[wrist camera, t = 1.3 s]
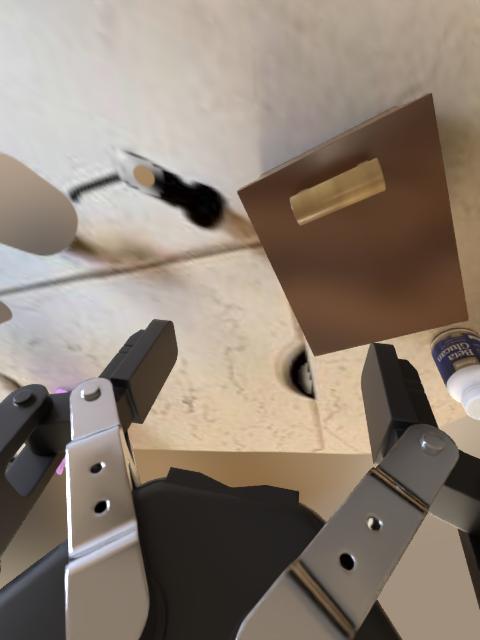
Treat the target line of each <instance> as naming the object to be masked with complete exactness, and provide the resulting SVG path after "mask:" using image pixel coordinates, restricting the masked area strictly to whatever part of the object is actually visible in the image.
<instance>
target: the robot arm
mask: <svg viewBox="0 0 480 640" xmlns="http://www.w3.org/2000/svg"><path fill="white" fill-rule="evenodd" d="M177 355H178V348H177V342H176V336H175V330H174V325H173V322H172V321H167V320H157V319H154V320H152V322H151V323H150V324H149V326H148V327H147V328H146V330H140V331H138V332H136V333H135V334H133V335H132V336H131V337H130V338H129V339H128V340H127V342H126V343H125V344H124V346H123V347H122V348H121V349H120V351H119V353H117V354H116V356H115V357H114V358H113V359H112V361H111V362H110V363H109V364H108V366H107V367H106V368H105V370H104V371H103V372H102V373H101V375H100V376H99V377H98V378H92V379H88V380H86V381H84V382H82V383H80V384H79V385H78V386H76V387H75V388H74V389H73V391H72V392H66V393H57V394H49V393H48V391H47V389H46V387H44V386H43V385H39V384H32V385H27V386H24V387H21V388H19V389H17V390H15V391H14V392H12V393H11V394H9V395H8V396H7V397H6V398H5V399H4V400H3V401H2V402H1V403H0V558H1V556H2V554H3V553H4V551H5V550H6V548H7V547H8V545H9V543H10V542H11V540H12V539H13V537H14V535H15V534H16V532H17V531H18V529H19V528H20V526H21V525H22V523H23V521H24V520H25V518H26V517H27V515H28V514H29V512H30V511H31V509H32V507H33V506H34V504H35V503H36V501H37V500H38V498H39V497H40V495H41V493H42V492H43V490H44V489H45V487H46V486H47V484H48V482H49V481H50V479H51V478H52V476H53V475H54V473H55V472H56V470H57V469H58V467H59V465H60V464H61V462H62V461H63V459H64V458H65V456H66V476H67V510H68V539H66V540H65V541H64V542H62V543H61V544H60V545H58V546H57V547H56V548H54V549H53V550H52V551H50V552H49V553H48V554H46V555H45V556H44V557H42V558H41V559H40V560H38V561H37V562H36V563H34V564H33V565H32V566H30V567H29V568H28V569H26V570H25V571H24V572H22V573H21V574H20V575H18V576H17V577H16V578H14V579H13V580H12V581H11V582H9V583H8V584H6V585H5V586H4V587H3V588H1V589H0V640H402V639H401V637H400V635H399V634H398V632H397V630H396V629H395V627H394V626H393V624H392V622H391V621H390V619H389V618H388V616H387V615H386V613H385V611H384V610H383V608H382V607H381V605H380V603H379V602H378V600H377V598H378V596H379V594H380V593H381V591H382V589H383V588H384V586H385V584H386V582H387V581H388V579H389V577H390V576H391V574H392V572H393V571H394V569H395V567H396V565H397V564H398V562H399V561H400V559H401V557H402V555H403V554H404V552H405V550H406V549H407V547H408V545H409V544H410V542H411V540H412V539H413V536H414V535H415V533H416V532H417V530H418V528H419V527H420V525H421V523H422V522H423V520H424V518H425V517H426V515H427V513H428V514H430V515H432V516H434V517H436V518H439V519H440V520H442V521H444V522H446V523H448V524H450V525H452V526H454V527H456V528H458V532H459V536H460V539H461V543H462V547H463V550H464V554H465V558H466V561H467V565H468V568H469V572H470V575H471V579H472V583H473V587H474V590H475V594H476V598H477V601H478V605H479V608H480V459H479V458H476V457H474V456H471V455H469V454H467V453H464V452H463V451H461V450H459V449H458V448H457V446H456V444H455V442H454V441H453V440H452V439H451V438H450V437H449V436H448V435H447V434H446V433H445V432H443V431H442V430H440V429H439V428H438V425H437V423H436V420H435V417H434V415H433V412H432V409H431V407H430V404H429V401H428V399H427V396H426V394H425V393H424V388H423V386H422V384H421V380H420V378H419V375H418V372H417V370H416V369H415V368H414V367H413V366H412V365H411V364H410V363H409V361H408V360H404V359H398V357H397V354H396V351H395V348H394V346H393V345H390V344H380V343H371V344H370V347H369V350H368V354H367V357H366V361H365V364H364V368H363V371H362V377H361V388H362V395H363V401H364V407H365V414H366V420H367V426H368V432H369V439H370V445H371V451H372V457H373V463H374V464H378V466H377V467H376V468H374V467H373V468H372V469H370V470H369V471H368V473H367V474H366V475H365V476H364V477H363V479H362V480H361V481H360V482H359V484H358V485H357V486H356V487H355V488H354V490H353V491H352V492H351V493H350V495H349V496H348V497H347V498H346V500H345V501H344V502H343V503H342V504H341V506H340V507H339V508H338V509H337V511H336V512H335V513H334V514H333V516H332V517H331V518H330V519H329V520H328V522H325V520H324V519H323V518H322V517H321V516H319V515H318V514H317V513H316V512H315V511H314V510H312V509H311V508H309V507H307V506H306V505H304V504H302V503H300V502H299V491H294V490H288V489H284V488H278V487H273V486H268V485H262V486H247V487H236V488H235V487H233V488H232V487H228V486H226V485H224V484H222V483H220V482H218V481H216V480H214V479H212V478H210V477H208V476H206V475H204V474H202V473H199V472H194V471H189V470H183V469H178V468H173V467H171V468H170V470H169V473H168V476H167V477H163V478H158V479H154V480H151V481H148V482H146V483H144V484H141V482H140V478H139V475H138V471H137V466H136V462H135V457H134V453H133V448H132V444H131V440H130V435H129V432H128V428H129V427H130V425H131V423H132V422H133V423H139V424H143V422H144V420H145V418H146V417H147V415H148V413H149V411H150V409H151V407H152V405H153V404H154V402H155V400H156V398H157V396H158V394H159V392H160V391H161V389H162V387H163V385H164V383H165V381H166V379H167V378H168V376H169V374H170V372H171V370H172V368H173V366H174V365H175V363H176V360H177ZM23 443H25V444H26V446H25V447H24V448H23V450H22V451H21V452H20V453H19V455H18V456H17V457H16V459H15V460H14V461H13V463H12V464H11V465H10V466H9V468H8V469H7V470H6V467H7V465H8V463H9V461H10V460H11V459H12V457H13V456H14V455H15V454H16V452H17V451H18V450H19V448H20V447H21V446H22V445H23ZM5 470H6V472H5ZM0 570H1V561H0Z"/></svg>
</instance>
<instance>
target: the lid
mask: <svg viewBox="0 0 480 640" xmlns="http://www.w3.org/2000/svg"><path fill="white" fill-rule="evenodd" d="M237 193H238V195H239V197H240V199H241V201H242V204H243V206H244V208H245V210H246V212H247V214H248V216H249V218H250V221H251V223H252V225H253V227H254V229H255V231H256V233H257V235H258V238H259V240H260V242H261V244H262V246H263V248H264V250H265V252H266V255H267V257H268V259H269V261H270V263H271V265H272V267H273V269H274V272H275V274H276V276H277V278H278V280H279V282H280V284H281V286H282V289H283V291H284V293H285V295H286V297H287V299H288V301H289V303H290V306H291V308H292V310H293V312H294V314H295V316H296V318H297V320H298V323H299V325H300V327H301V329H302V331H303V333H304V335H305V337H306V340H307V342H308V344H309V346H310V348H311V350H312V352H313V354H314V356H319V355H324V354H328V353H332V352H336V351H340V350H345V349H349V348H353V347H357V346H362V345H366V344H370V343H374V342H378V341H383V340H387V339H391V338H395V337H400V336H404V335H408V334H412V333H416V332H421V331H425V330H429V329H433V328H437V327H442V326H446V325H450V324H454V323H459V322H463V321H467V320H468V313H467V307H466V301H465V295H464V289H463V282H462V276H461V270H460V264H459V258H458V252H457V245H456V239H455V233H454V227H453V221H452V215H451V209H450V202H449V196H448V190H447V184H446V178H445V172H444V166H443V159H442V153H441V147H440V141H439V135H438V129H437V122H436V116H435V110H434V104H433V98H432V93H427V94H425V95H423V96H421V97H419V98H417V99H415V100H413V101H411V102H409V103H407V104H405V105H403V106H401V107H399V108H397V109H395V110H393V111H391V112H389V113H387V114H385V115H384V116H382V117H380V118H378V119H376V120H374V121H372V122H370V123H368V124H366V125H364V126H362V127H360V128H358V129H356V130H354V131H352V132H350V133H348V134H346V135H344V136H342V137H340V138H338V139H336V140H334V141H332V142H330V143H329V144H327V145H325V146H323V147H321V148H319V149H317V150H315V151H313V152H311V153H309V154H307V155H305V156H303V157H301V158H299V159H297V160H295V161H293V162H291V163H289V164H287V165H285V166H283V167H281V168H279V169H277V170H275V171H274V172H272V173H270V174H268V175H266V176H264V177H262V178H260V179H258V180H256V181H254V182H252V183H250V184H248V185H246V186H244V187H242V188H240V189H239V190H238V191H237Z"/></svg>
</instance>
